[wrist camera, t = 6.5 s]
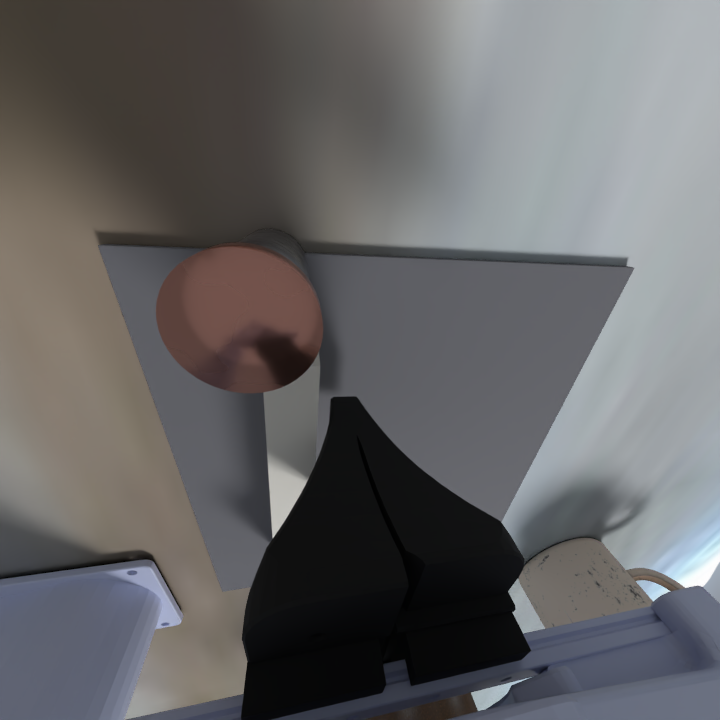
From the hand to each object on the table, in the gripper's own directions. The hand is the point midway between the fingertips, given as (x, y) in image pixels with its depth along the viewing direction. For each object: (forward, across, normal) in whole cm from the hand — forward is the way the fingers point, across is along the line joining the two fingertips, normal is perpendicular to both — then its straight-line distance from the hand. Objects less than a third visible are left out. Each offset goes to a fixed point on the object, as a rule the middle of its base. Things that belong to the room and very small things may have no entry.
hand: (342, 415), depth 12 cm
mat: (+2, -3, +5) cm, 6 cm away
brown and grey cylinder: (+2, +3, -6) cm, 6 cm away
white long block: (+1, +2, +3) cm, 4 cm away
